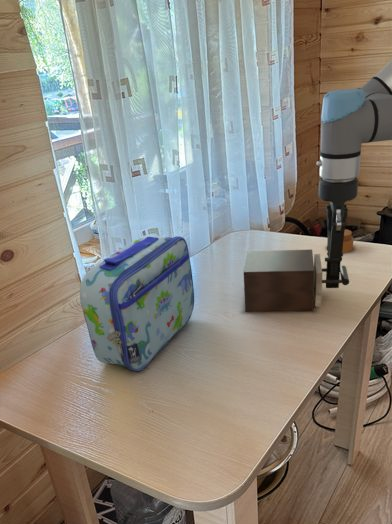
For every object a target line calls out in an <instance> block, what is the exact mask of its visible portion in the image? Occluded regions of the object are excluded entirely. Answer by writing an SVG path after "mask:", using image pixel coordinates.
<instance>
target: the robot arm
mask: <svg viewBox="0 0 392 524" xmlns="http://www.w3.org/2000/svg"><path fill="white" fill-rule="evenodd" d="M385 141H392V59H391V60H390V61H389V62H388V63H386V64H385V66H383V67H382V68H381V69H380V70H379V71H378V72H377V73H376V74H375V75H374V76H373V77H371V78H370V79H369V80H368V81H367V82H366V83H365V84H364V85H363V86H362V87H356V88H342V89H333V90H330V91H328V92H327V93H325V94H324V96H323V98H322V106H321V116H320V152H319V155H320V158H319V159H320V160H317V161H316V166H317V167H319V177H320V178H319V180H318V198H319V199H320V200H321V201H324V202H329V203H328V204H327V205H326V206H325V213H326V225H327V241H326V242H327V243H326V251H327V253H326V256H327V257H324V262H325V263H326V268H327V270H326V272H325V280H339V279H340V278H341V275H340V267H341V262H342V261H343V257H344V253H342V250H343V240H344V231H345V229H346V227H347V223H346V221H347V218H348V214H349V213H348V211H349V210H348V209H349V208H347V204H345V203H347V202H348V201H349V202H351V201H353V200H355V199H356V198H357V197H358V190H359V178H358V176H360V169H361V156H362V144H369V143H376V142H377V143H378V142H385ZM339 288H340V283H325V289H339Z"/></svg>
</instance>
